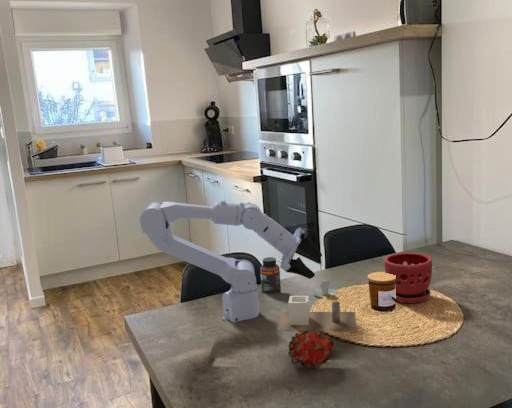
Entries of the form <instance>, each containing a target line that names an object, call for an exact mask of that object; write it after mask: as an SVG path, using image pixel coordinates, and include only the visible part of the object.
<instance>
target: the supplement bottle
mask: <svg viewBox="0 0 512 408" xmlns="http://www.w3.org/2000/svg"><path fill="white" fill-rule="evenodd" d="M259 270H260V287H261V288H260V289H261V294H281V292H282V290H281V286H282V285H281V271H280V265H278V264H277V259H276V258H275V257H271V256H270V257H263V259H262V265H261V266H260V268H259Z"/></svg>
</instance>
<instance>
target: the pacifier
mask: <svg viewBox="0 0 512 408" xmlns="http://www.w3.org/2000/svg"><path fill="white" fill-rule="evenodd" d="M329 287H330V280H329V279H327V278H325V279H324V280H323V281H321V283H320V288H321V291H320V292H319V291H318V292H317V293H316V292H315V293H313V295H314V297H317V298H319V299H324V297H323V296H326V295H328V294H335V295H336V294H337V290H336V289H335V288H329ZM317 294H321V295H322V296H319V295H317Z"/></svg>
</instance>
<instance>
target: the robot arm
mask: <svg viewBox="0 0 512 408" xmlns="http://www.w3.org/2000/svg"><path fill="white" fill-rule="evenodd" d="M178 219H200V220H202V219H204V220H206V219H207V220H209V219H210V221H211V222H212V223H213V224H215V225H226V226H237V227H238V226H241V225H243V227H244V228H245V229H246V230H250V231H251V230H252V231H253V232H254V233H255V234H257V236H259V237H260V238H261V239H263V240H264V241H265V242H267V244H269V245H270V246H272V247H273V248H274V249H275V250H276V251H278V252H279V253H280V254H282V257H281V263H280V265H279V268H281V269H282V270H284V272H286V273H291V274H296V275H299V276H302V277H304V278H307V279H309V280H311V279H312V278H314V277H315V275H316V274H315V273H314V271H313V270H312V269H310V268H309V267H308V266H307V265H306V264H305V263H304V262H303V259H301V256H299V257H297V258H294V256H295V253H296V252H297V249H299V250H301V251H303V252H305V253H307V254H308V255H309V256H310V257H312V258H314V259H316V260H318V259H320V258H321V257H322V256H323V254H322V253H321V251H320V250H319V249H318V247H317V246H316V244H315V243H314V240H313V239H312V237H311V234H310V233H308V232H306V233H305V230H304V229H303V228H301V227H299V228H296V230H295V231H294V233H293V234H292V233H291V232H289V231H288V230H287V229H286V228H285V227H283V225H281V224H279V223H278V222H277V221H275V220H274V219H273V218H272V217H269V215H267V214H266V213H265V212H262V211H261V208H260V207H259V206H258V205H257V204H255V203H252V202H246V203H244V202H241V201H240V202H239V203H229V202H227V201H226V200H222V199H221V200H220V202H218V201H217V202H215V203H214V204H212V205H211V206H209V205H200V204H191V203H184V202H174V201H163V202H162V201H153V202H150V203H149V204H148V205H147V206H146V207H145V209H144V210H143V211H142V213H141V214H140V217H139V222H140V227H141V229H142V233H144V235H146V236H147V237H148V239H149V240H150V242H152V244H153V245H154V246H155V248H156V249H157V250H158V251H160V252H163V253H165V254H168V255H170V256H172V257H175V258H176V259H180V260H181V261H184V262H186V263H189V264H191V265H194V266H195V267H199V268H200V269H203V270H205V271H208V272H210V273H212V274H215V275H217V276H219V277H220V278H222V280H223V281H225V282H226V283H227V284H229V285H230V289H229V290H228V291H225V292H224V293H223V294H222V297H221V299H222V315H223V316H222V320H224V321H225V320H229V321H230V322H232V323H237V322H240V321H245V320H251V319H255V318H257V317H258V316H259V315H260V308H259V307H260V304H259V290H258V289H259V287H258V284H257V278H256V273H255V271H256V270H255V266H254V264H253V263H252V262H251V261H250V260H247V259H236V258H234V257H226V256H224V255H221V254H218V253H216V252H214V251H212V250H209V249H207V248H205V247H203V246H201V245H197V244H195V243H192V242H191V241H189V240H186V239H183V238H181V237H179V236H177V235H175V234H173V232H172V231H173V230H172V229H171V225H170V224H171V223H174V222H175V221H176V220H178Z"/></svg>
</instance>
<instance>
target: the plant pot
mask: <svg viewBox="0 0 512 408" xmlns="http://www.w3.org/2000/svg"><path fill="white" fill-rule="evenodd" d="M404 263H406V264H404ZM384 272H385V274H386V273H389V274H393V275H396V300H395V301H397V302H399V301H400V302H399V303H406V302H407V303H410V304H413V303H416V302H417V303H421V302H424V301H427V300H428V299H429V297H430V296H431V291H430V289H429V286H430V284H431V280H432V275H433V274H432V273H433V262H432V258H431V257H430V256H428V255H427V254H421V253H416V252H415V253H414V252H402V253H395V254H391V255H388V256H386V257H385V259H384ZM407 303H406V304H407Z"/></svg>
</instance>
